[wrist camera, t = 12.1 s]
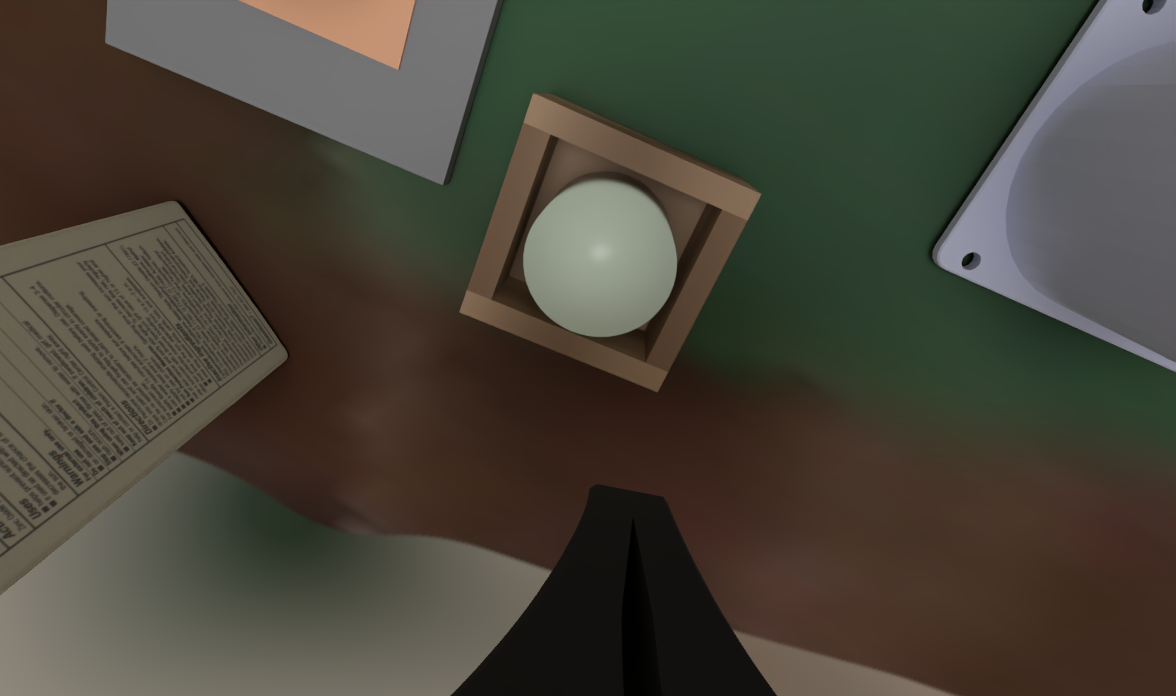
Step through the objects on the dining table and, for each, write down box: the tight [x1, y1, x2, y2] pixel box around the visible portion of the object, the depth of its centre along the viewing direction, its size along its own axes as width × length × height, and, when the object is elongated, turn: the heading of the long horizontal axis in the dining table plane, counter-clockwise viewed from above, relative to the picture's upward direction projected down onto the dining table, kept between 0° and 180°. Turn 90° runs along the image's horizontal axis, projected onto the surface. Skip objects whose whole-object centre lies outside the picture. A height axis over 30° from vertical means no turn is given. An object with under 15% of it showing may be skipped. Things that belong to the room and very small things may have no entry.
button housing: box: [460, 93, 761, 392], centre depth 17 cm, size 6×6×3 cm
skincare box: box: [0, 201, 288, 595], centre depth 15 cm, size 6×4×12 cm
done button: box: [523, 171, 677, 337], centre depth 16 cm, size 4×4×3 cm
